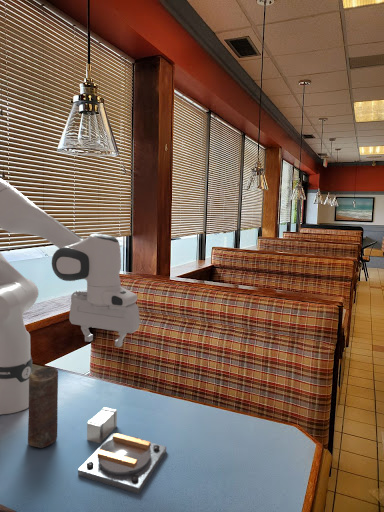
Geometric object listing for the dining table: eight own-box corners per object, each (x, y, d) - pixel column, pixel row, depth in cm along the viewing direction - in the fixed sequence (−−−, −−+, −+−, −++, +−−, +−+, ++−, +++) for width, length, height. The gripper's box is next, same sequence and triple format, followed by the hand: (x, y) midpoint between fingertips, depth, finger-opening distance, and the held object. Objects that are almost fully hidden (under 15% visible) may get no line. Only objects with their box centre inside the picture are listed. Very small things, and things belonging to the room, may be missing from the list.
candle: (63, 438, 105) (63, 369, 102) (45, 454, 98) (44, 380, 95) (41, 432, 107) (40, 364, 104) (21, 447, 100) (20, 374, 98)
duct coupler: (86, 439, 104) (86, 422, 104) (104, 422, 113) (104, 406, 112) (100, 443, 103) (100, 425, 102) (117, 426, 111) (117, 409, 111)
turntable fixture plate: (78, 475, 91) (78, 458, 90) (112, 437, 106) (113, 423, 105) (138, 493, 86) (138, 476, 85) (166, 451, 101) (166, 437, 100)
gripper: (64, 292, 103) (64, 341, 105) (131, 301, 97) (130, 353, 98) (78, 287, 109) (78, 334, 111) (142, 295, 102) (141, 345, 104)
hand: (103, 343), depth 105 cm, fingers open, 8 cm apart
